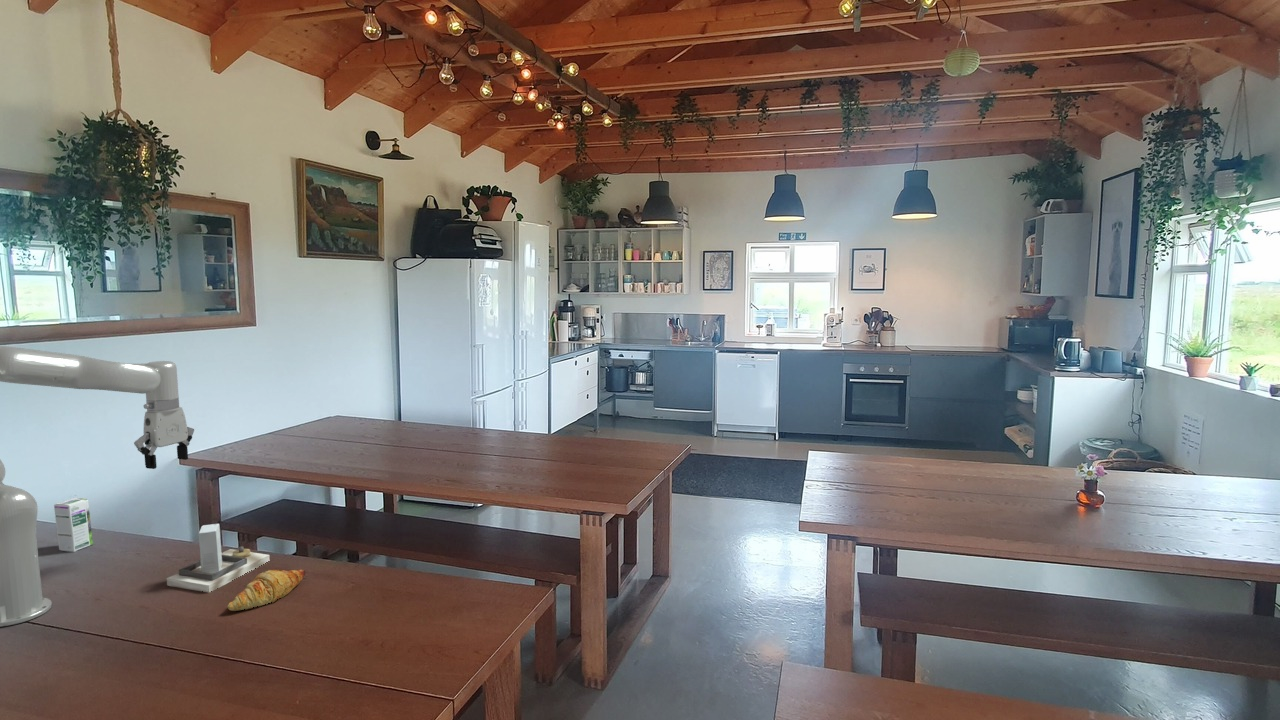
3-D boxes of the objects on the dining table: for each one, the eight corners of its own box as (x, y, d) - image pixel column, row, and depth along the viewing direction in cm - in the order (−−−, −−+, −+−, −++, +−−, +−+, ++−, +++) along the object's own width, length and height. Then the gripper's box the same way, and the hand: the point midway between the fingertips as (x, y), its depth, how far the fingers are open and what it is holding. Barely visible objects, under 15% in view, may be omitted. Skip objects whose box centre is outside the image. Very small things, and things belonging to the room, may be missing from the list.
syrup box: (74, 552, 197) (69, 505, 195) (58, 550, 198) (53, 503, 197) (93, 544, 203) (89, 498, 201) (77, 543, 204) (73, 497, 202)
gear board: (209, 592, 174) (208, 576, 174) (167, 585, 178) (165, 569, 177) (269, 561, 194) (268, 546, 193) (230, 555, 197) (229, 540, 197)
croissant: (237, 630, 163) (246, 606, 161) (212, 604, 166) (220, 581, 163) (311, 592, 182) (320, 570, 180) (287, 569, 185) (295, 547, 183)
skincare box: (204, 566, 185) (201, 525, 183) (222, 564, 187) (219, 522, 185) (200, 575, 180) (197, 533, 178) (219, 572, 181) (216, 530, 180)
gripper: (143, 411, 180) (148, 473, 182) (200, 400, 196) (204, 457, 199) (122, 409, 182) (127, 470, 184) (180, 398, 198) (184, 454, 201)
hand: (167, 463), depth 191 cm, fingers open, 9 cm apart
